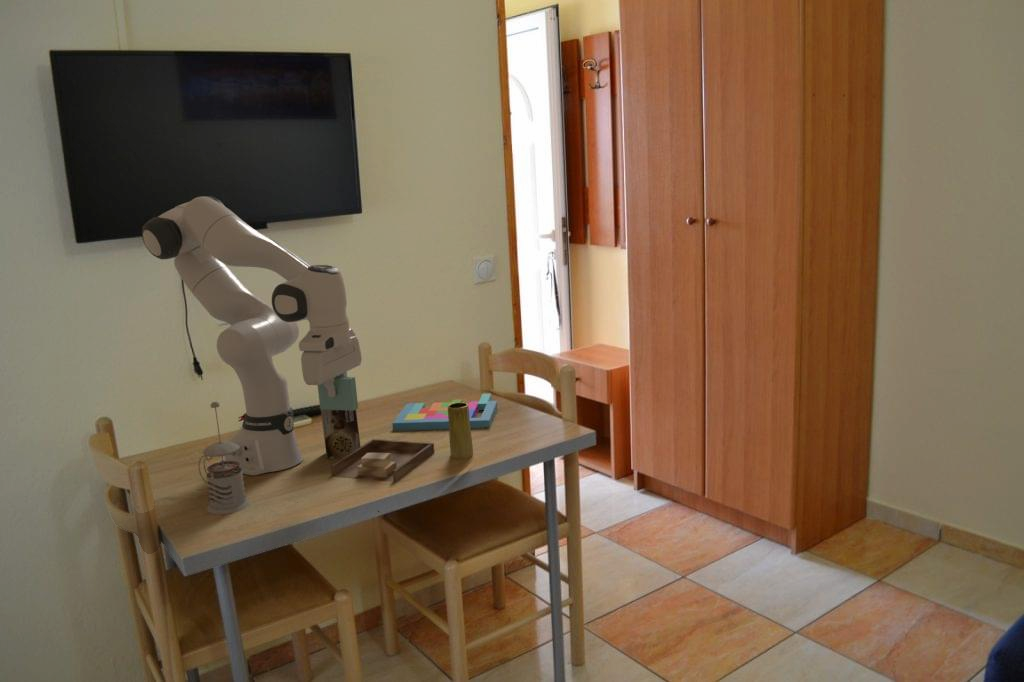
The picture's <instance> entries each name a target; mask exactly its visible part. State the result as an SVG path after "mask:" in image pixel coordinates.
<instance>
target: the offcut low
mask: <svg viewBox="0 0 1024 682" xmlns="http://www.w3.org/2000/svg"><path fill="white" fill-rule="evenodd" d="M396 468H397V467H396V462H390V463H389V464H388V465H387V466H386V467H362V464H360V465H359V466H357V470H358V475H362V476H373V477H385V478H387V477H388V476H390V475H391V474H392V473H393V470H395V469H396Z"/></svg>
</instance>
